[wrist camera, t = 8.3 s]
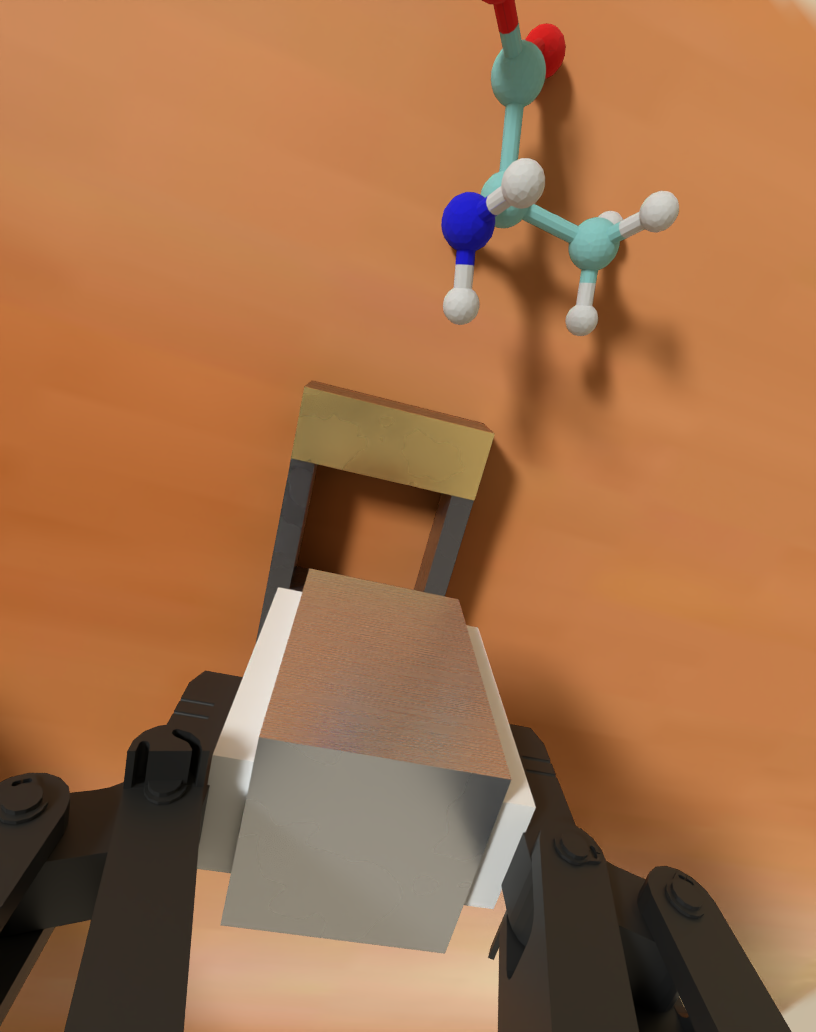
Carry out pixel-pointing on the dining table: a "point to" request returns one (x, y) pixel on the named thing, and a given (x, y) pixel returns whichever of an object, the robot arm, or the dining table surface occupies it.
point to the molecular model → (534, 184)
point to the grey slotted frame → (380, 472)
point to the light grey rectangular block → (369, 773)
